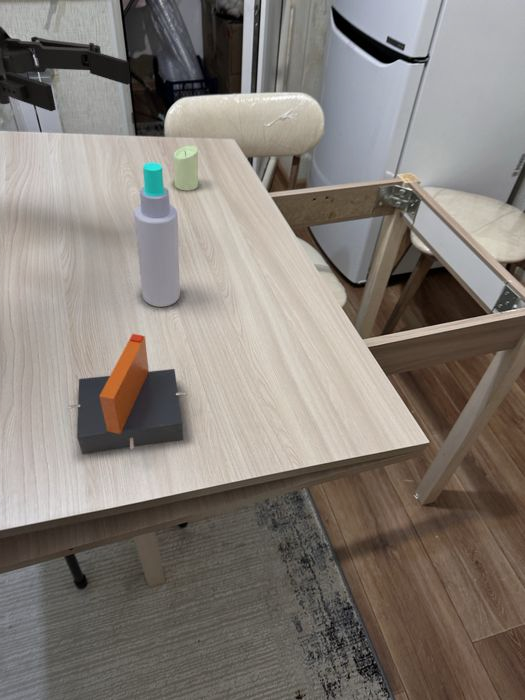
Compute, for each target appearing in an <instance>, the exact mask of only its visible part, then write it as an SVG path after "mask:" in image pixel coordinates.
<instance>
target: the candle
mask: <svg viewBox="0 0 525 700" xmlns="http://www.w3.org/2000/svg"><path fill="white" fill-rule="evenodd" d="M173 169H174V173H173V174H174V186H175V188H177V189H178V190H181V191H186V192H188V191H193V190H196V189H197V188H198V186H199V150H198V147H197V146H195V145H186V146H182V147H180V148H178V149H177V150H175V152H174V153H173Z"/></svg>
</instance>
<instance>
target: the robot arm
mask: <svg viewBox="0 0 525 700" xmlns="http://www.w3.org/2000/svg"><path fill="white" fill-rule="evenodd" d="M101 51H102V50H101V46H100V45H97V44H95V43H94V42H89V43H78V42H70V41H61V40H54V39H46V38H42V37H37V36H32V37H30V41H28V40H21V39H20V38H12V37H11V36H10V35H9V33H8V32H7V31H6V30H5V29H4V28H3V27H2V26H1V25H0V104H1V105H9V104H10V103H11V101H10V98H11V99H14V100H17V101H20V102H23V103H25V104H27V105H32V106H34V107H38V108H41V109H43V110H46V111H49V112H54V111H56V110H57V108H56V103H55V99H54V93H53V88H52V84H50V83H46V82H43V81H40V80H37V79H33V78H32V77H31V78H30V77H28V76H25V75H21V74H26V73H45V72H46V71H47V69H48V70H49V69H50V70H70V71H71V70H72V71H89V74H91V75H94V76H96V77H97V76H98V77H101V78H104V79H107V80H110V81H114V82H117V83H120V84H124V85H130V84H131V72H130V61H128V60H125V59H122V58H118V57H116V56H111V55H108V54H105V53H102V52H101ZM35 59H37V61H38V65H37V64H35Z"/></svg>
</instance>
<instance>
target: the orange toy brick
mask: <svg viewBox="0 0 525 700" xmlns="http://www.w3.org/2000/svg"><path fill="white" fill-rule="evenodd" d="M148 362H149V361H148V353H147V345H146V336H145V335H141V334H136V333H131V335H130V337H129V339H128V341H127V343H126V345H125V347H124V348H123V351H122V352H121V354H120V356H119V358H118V360H117V362H116V364H115V366H114V368H113V370H112V372H110V373H111V374H110V375H109V376H110V377H109V379H108V381H107V383H106V385H105V387H104V388H103V390H102V392H101V394H100V396H99V397H100V401H101V405H102V410H103V414H104V419H105V423H106V428H107V431H108V432H112V433H117V434H121V432H122V430H123V427H124V425H125V423H126V421H127V419H128V416H129V414H130V412H131V410H132V408H133V405H134V403H135V401H136V399H137V397H138V395H139V392H140V390H141V388H142V386H143V384H144V381H145V379H146V377H147V375H148V373H149V372H150V371H149V363H148Z"/></svg>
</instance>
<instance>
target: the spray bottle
mask: <svg viewBox="0 0 525 700" xmlns="http://www.w3.org/2000/svg"><path fill="white" fill-rule="evenodd" d="M142 168H143V169H142V170H143V171H142V172H143V187H142V188H141V189H140V190H139V195H140V197H139V198H140V199H139V200H140V204H139V205H138V206H136V207H135V209H134V211H133V216H134V217H133V218H134V227H135V236H136V246H137V254H138V255H137V256H138V267H139V275H140V284H141V295H142V298H143V300H144V301H145V302H146V303H147V304H148V305H151V306H154V307H169V306H172V305H173V304H175V303H177V302H178V300H179V298H180V295H181V283H180V254H179V253H180V252H179V221H178V211H177V208H176V207H175V206H173V205H172V204H171V203H170V194H169V190H168V188H166V187H165V186H164V176H163V175H164V173H163V165H162V164H161V163H159V162H146V163H144V164H143V166H142Z"/></svg>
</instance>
